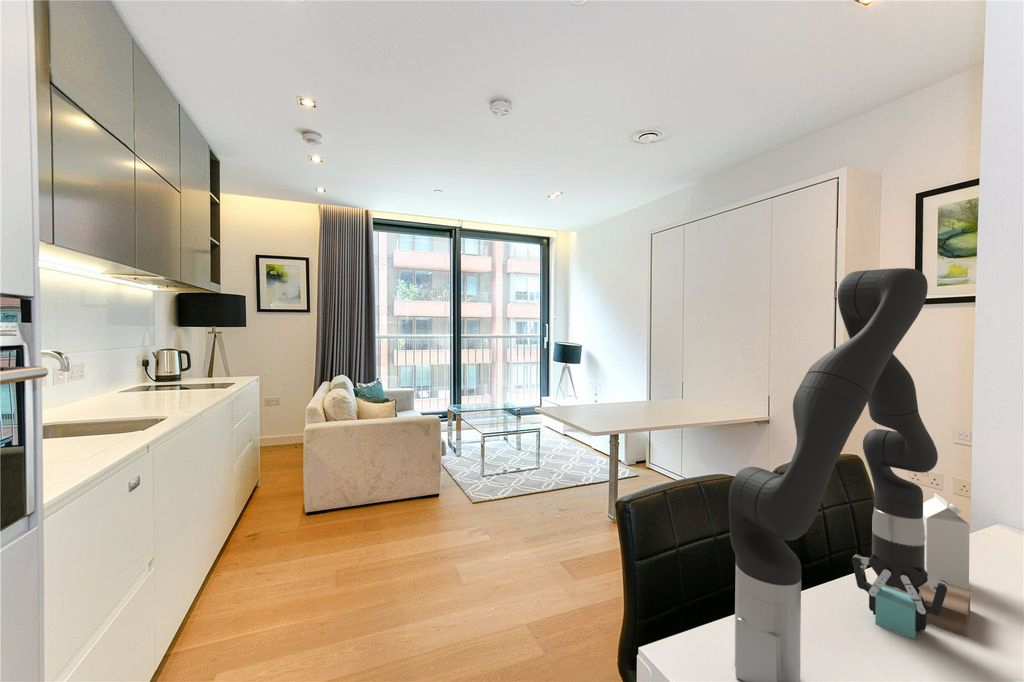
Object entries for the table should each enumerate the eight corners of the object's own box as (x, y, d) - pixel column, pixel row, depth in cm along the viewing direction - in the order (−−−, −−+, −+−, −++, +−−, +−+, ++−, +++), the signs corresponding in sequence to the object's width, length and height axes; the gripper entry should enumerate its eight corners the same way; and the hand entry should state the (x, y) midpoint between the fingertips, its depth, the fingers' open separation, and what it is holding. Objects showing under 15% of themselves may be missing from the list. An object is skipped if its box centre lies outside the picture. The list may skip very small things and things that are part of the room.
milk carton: (926, 583, 96) (926, 500, 96) (914, 568, 102) (914, 490, 102) (969, 592, 93) (970, 506, 93) (954, 576, 99) (955, 495, 99)
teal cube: (914, 639, 78) (914, 609, 78) (875, 624, 82) (875, 595, 82) (918, 626, 81) (918, 598, 81) (880, 612, 85) (880, 585, 85)
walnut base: (966, 636, 79) (967, 614, 79) (882, 605, 88) (882, 586, 88) (969, 609, 86) (970, 590, 86) (892, 583, 96) (892, 566, 96)
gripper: (846, 527, 85) (845, 611, 85) (949, 555, 74) (948, 652, 74) (855, 517, 89) (854, 597, 89) (952, 542, 79) (951, 632, 79)
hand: (896, 621), depth 82 cm, fingers closed on teal cube, 5 cm apart
